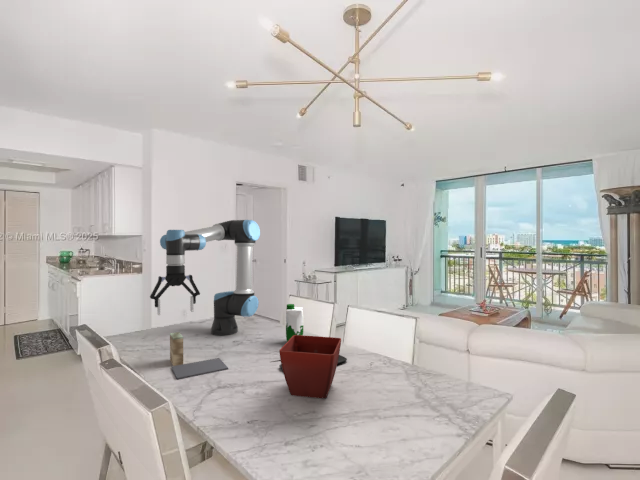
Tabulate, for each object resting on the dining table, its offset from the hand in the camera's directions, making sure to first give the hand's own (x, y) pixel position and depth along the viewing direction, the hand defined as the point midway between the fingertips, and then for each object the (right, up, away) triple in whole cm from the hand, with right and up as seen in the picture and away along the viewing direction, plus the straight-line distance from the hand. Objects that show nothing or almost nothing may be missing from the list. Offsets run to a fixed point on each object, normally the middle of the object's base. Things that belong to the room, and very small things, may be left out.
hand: (175, 313), depth 153 cm
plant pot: (+61, -22, -27) cm, 70 cm away
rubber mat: (+13, -22, -7) cm, 26 cm away
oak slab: (0, -22, 0) cm, 22 cm away
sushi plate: (+56, -23, +3) cm, 60 cm away
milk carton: (+50, -22, +28) cm, 61 cm away
